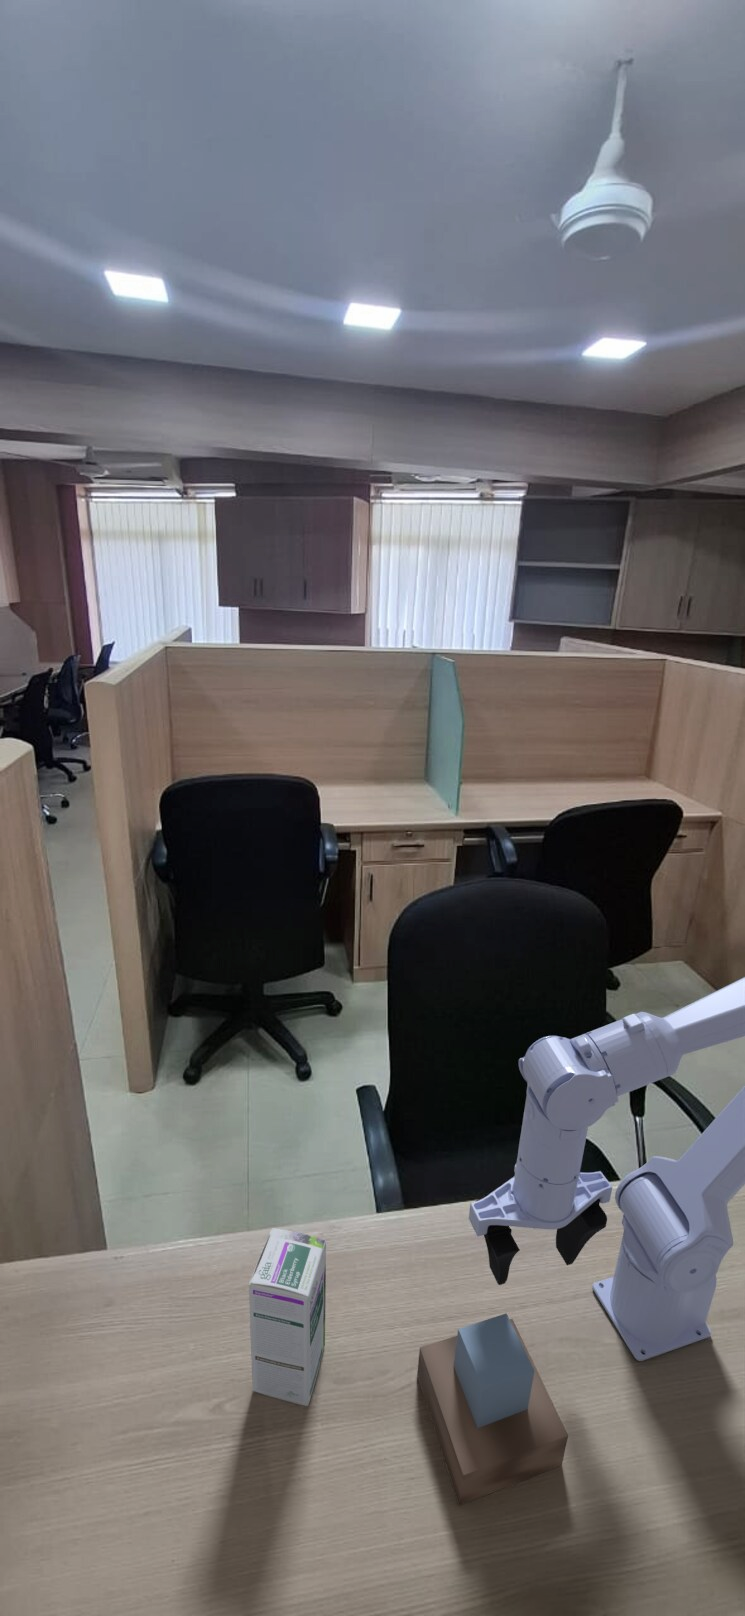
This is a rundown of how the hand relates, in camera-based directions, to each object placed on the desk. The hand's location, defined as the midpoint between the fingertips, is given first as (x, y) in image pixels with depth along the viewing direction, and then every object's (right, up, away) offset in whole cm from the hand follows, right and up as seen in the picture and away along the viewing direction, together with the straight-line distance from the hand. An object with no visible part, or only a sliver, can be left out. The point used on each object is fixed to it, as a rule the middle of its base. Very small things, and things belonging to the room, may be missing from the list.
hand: (531, 1264), depth 65 cm
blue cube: (-5, -7, -6) cm, 11 cm away
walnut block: (-5, -11, -5) cm, 13 cm away
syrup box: (-24, -9, -1) cm, 26 cm away
